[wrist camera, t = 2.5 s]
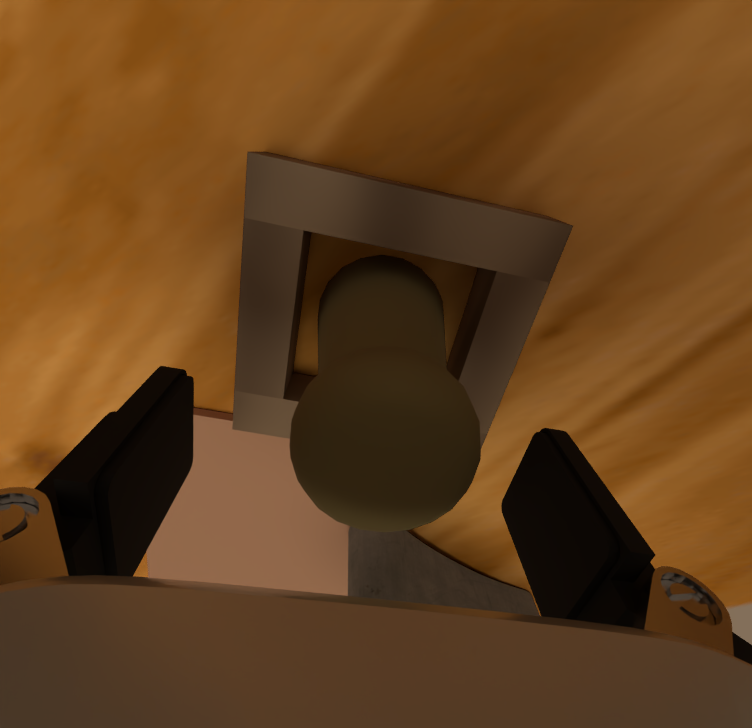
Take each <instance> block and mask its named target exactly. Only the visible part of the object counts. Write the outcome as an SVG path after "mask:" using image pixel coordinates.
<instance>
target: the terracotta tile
mask: <svg viewBox="0 0 752 728" xmlns="http://www.w3.org/2000/svg"><path fill="white" fill-rule="evenodd" d="M232 426H233V414H229V413H223V412H217V411H211V410H205V409H199V408H194V413H193V463H192V467H191V470H190V472H189V474H188V476H187V477H186V479H185V481H184V483H183V485H182V487H181V488H180V490H179V492H178V494H177V496H176V498H175V499H174V501H173V503H172V505H171V507H170V509H169V511H168V512H167V514H166V516H165V518H164V520H163V522H162V523H161V525H160V527H159V529H158V531H157V533H156V534H155V536H154V538H153V540H152V542H151V544H150V545H149V547H148V549H147V563H148V576H149V578H160V579H172V580H185V581H197V582H210V583H221V584H232V585H242V586H252V587H262V588H273V589H283V590H293V591H303V592H314V593H324V594H334V595H344V596H348V531H349V528H350V526H348V525H346V524H343V523H340V522H337V521H336V520H334V519H333V518H331V517H330V516H328V515H327V514H325V513H324V512H323V511H321V510H320V509H318V508H317V506H316V505H315V504H314V503H313V501H312V500H311V499H310V497H309V496H308V495H307V494H306V492H305V491H304V490H303V488H302V487H301V485H300V483H299V482H298V480H297V477H296V474H295V471H294V468H293V464H292V461H291V458H290V446H289V444H290V439H288V438H282V437H276V436H270V435H264V434H257V433H251V432H245V431H239V430H233V429H232Z"/></svg>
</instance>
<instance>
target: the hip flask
mask: <svg viewBox="0 0 752 728" xmlns="http://www.w3.org/2000/svg"><path fill="white" fill-rule="evenodd" d="M348 596H354V597H364V598H373V599H383V600H393V601H403V602H412V603H422V604H431V605H441V606H451V607H460V608H470V609H479V610H488V611H497V612H506V613H515V614H525V615H534V616H540V615H539V613H538V610H537V608H536V605H535V603H534V600H533V598H532V596H531V594H530V593H529V592H527V591H525V590H523V589H519V588H516V587H512V586H509V585H506V584H503V583H501V582H498V581H495V580H493V579H490V578H488V577H485V576H483V575H481V574H478V573H476V572H474V571H472V570H470V569H468V568H466V567H464V566H462V565H460V564H458V563H456V562H454V561H452V560H451V559H449V558H447V557H445V556H443V555H442V554H440V553H438V552H436V551H435V550H433V549H432V548H430V547H429V546H427V545H425V544H424V543H422V542H421V541H420V540H418V539H417V538H415V537H414V536H413V535H411V534H410V533H409V532H407V531H406V530H403V531H393V532H376V531H367V530H359V529H357V528H354V527H351V526H350V528H349V531H348Z"/></svg>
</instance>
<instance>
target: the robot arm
mask: <svg viewBox="0 0 752 728" xmlns="http://www.w3.org/2000/svg"><path fill="white" fill-rule="evenodd" d="M193 413H194V382H193V377H191V376H187V373H186V371H185V370H183V369H177V368H171V367H165V366H160V367H159V368H158V369H157V370H156V371H155V372H154V373H153V374H152V375H151V376H150V377H149V378H148V379H147V380H146V381H145V382H144V383H143V384H142V386H141V387H140V388H139V389H138V390H137V391H136V392H135V393H134V394H133V395H132V396H131V397H130V398H129V399H128V400H127V401H126V402H125V403H124V404H123V406H122V407H121V408H120V409H119V410H118V411H117V412H115V411H114V412H110V413H109V414H108V415H106V416H105V417H104V418H103V419H102V420H101V421H100V422H99V423H98V424H97V425H96V426H95V427H94V428H93V429H92V430H91V431H90V432H89V433H88V434H87V435H86V436H85V437H84V439H83V440H82V441H81V442H80V443H79V444H78V445H77V446H76V447H75V448H74V449H73V450H72V451H71V452H70V453H69V454H68V455H67V456H66V457H65V458H64V459H63V460H62V461H61V462H60V463H59V464H58V465H57V466H56V467H55V468H54V469H53V470H52V471H51V472H50V473H49V474H48V475H47V476H46V477H45V478H44V479H43V480H42V481H41V483H40V484H39V485H38V486H37V487H36V488H35V489H33V488H27V487H9V488H4V489H0V728H752V645H751V644H749V643H748V642H746V641H745V640H743V639H742V638H740V637H739V636H737V635H736V634H734V633H733V632H732V623H731V619H730V616H729V613H728V611H727V609H726V608H725V606H724V604H723V603H722V602H721V601H720V599H719V598H718V597H717V596H716V595H715V594H714V593H713V592H712V591H711V590H710V589H709V588H708V587H707V586H706V585H704V584H703V583H702V582H700V581H699V580H698V579H696V578H695V577H693V576H692V575H690V574H688V573H686V572H684V571H682V570H680V569H676V568H673V567H668V566H661V567H659V568H656V569H654V567H653V566H652V564H651V563H650V561H651V560H652V559H653V557H654V556H655V554H654V552H653V551H652V550H651V548H650V547H649V545H648V544H647V543H646V541H645V540H644V538H643V537H642V536H641V534H640V533H639V532H638V530H637V529H636V527H635V526H634V525H633V523H632V522H631V520H630V519H629V518H628V516H627V515H626V514H625V512H624V511H623V509H622V508H621V507H620V505H619V504H618V502H617V501H616V500H615V498H614V497H613V496H612V494H611V493H610V491H609V490H608V489H607V487H606V486H605V484H604V483H603V482H602V480H601V479H600V478H599V476H598V475H597V473H596V472H595V471H594V469H593V468H592V466H591V465H590V464H589V462H588V461H587V460H586V458H585V457H584V455H583V454H582V453H581V451H580V450H579V448H578V447H577V446H576V444H575V443H574V442H573V440H572V439H571V437H570V436H569V435H568V433H566V432H565V431H561V430H555V429H549V428H544V429H542V430H541V431H540V432H536V433H535V434H534V436H533V437H532V440H531V442H530V444H529V446H528V448H527V450H526V452H525V454H524V456H523V458H522V461H521V463H520V465H519V467H518V469H517V471H516V473H515V475H514V477H513V479H512V482H511V484H510V486H509V488H508V490H507V492H506V494H505V496H504V498H503V501H502V513H503V516H504V519H505V522H506V524H507V527H508V529H509V532H510V535H511V537H512V540H513V542H514V545H515V548H516V550H517V553H518V555H519V558H520V561H521V563H522V566H523V569H524V571H525V574H526V576H527V579H528V582H529V584H530V587H531V589H532V592H533V595H534V597H535V600H536V603H537V605H538V608H539V610H540V613H541V616H534V615H525V614H515V613H506V612H497V611H488V610H479V609H470V608H460V607H451V606H441V605H431V604H422V603H412V602H403V601H393V600H383V599H373V598H364V597H354V596H344V595H334V594H324V593H314V592H303V591H293V590H283V589H273V588H262V587H252V586H242V585H232V584H221V583H210V582H197V581H185V580H172V579H160V578H148V577H133V575H134V573H135V571H136V569H137V567H138V566H139V564H140V562H141V560H142V558H143V556H144V555H145V553H146V551H147V549H148V547H149V545H150V544H151V542H152V540H153V538H154V536H155V534H156V533H157V531H158V529H159V527H160V525H161V523H162V522H163V520H164V518H165V516H166V514H167V512H168V511H169V509H170V507H171V505H172V503H173V501H174V499H175V498H176V496H177V494H178V492H179V490H180V488H181V487H182V485H183V483H184V481H185V479H186V477H187V476H188V474H189V472H190V470H191V467H192V463H193Z"/></svg>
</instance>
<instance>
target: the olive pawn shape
mask: <svg viewBox="0 0 752 728" xmlns="http://www.w3.org/2000/svg"><path fill="white" fill-rule="evenodd" d="M289 446H290V458H291V461H292V464H293V468H294V471H295V474H296V477H297V480H298V482H299V483H300V485H301V487H302V488H303V490H304V491H305V492H306V494H307V495H308V496H309V497H310V499H311V500H312V501H313V503H314V504H315V505H316V506H317V508H318V509H320V510H321V511H323V512H324V513H325V514H327V515H328V516H330V517H331V518H333V519H334V520H336V521H337V522H340V523H343V524H346V525H348V526H351V527H354V528H357V529H359V530H367V531H376V532H393V531H403V530H410V529H413V528H416V527H419V526H422V525H425V524H428V523H431V522H433V521H434V520H436V519H438V518H439V517H441V516H442V515H444V514H445V513H447V512H448V511H450V510H451V509H452V508H453V507H454V506H455V505H456V504H457V502H458V501H459V500H460V499H461V498H462V496H463V495H464V494H465V493H466V492H467V490H468V488H469V486H470V485H471V483H472V481H473V478H474V475H475V473H476V470H477V467H478V465H479V462H480V452H481V443H480V421H479V419H478V417H477V414H476V412H475V409H474V407H473V405H472V403H471V401H470V399H469V396H468V394H467V392H466V390H465V388H464V386H463V385H462V384H461V383H460V382H459V381H458V380H457V379H456V378H455V377H454V376H453V375H452V374H451V373H450V372H448V371H447V366H446V348H445V331H444V315H443V301H442V298H441V296H440V294H439V292H438V289H437V287H436V285H435V283H434V282H433V281H432V279H431V278H430V277H429V276H428V275H427V274H426V273H425V272H424V271H423V270H422V269H421V268H420V267H418V266H416V265H414V264H412V263H410V262H408V261H406V260H405V259H403V258H397V257H391V256H385V255H379V256H372V257H365V258H360V259H358V260H356V261H354V262H352V263H350V264H348V265H346V266H344V267H342V268H341V269H340V270H339V272H338V273H337V274H336V275H335V276H334V277H333V278H332V279H331V280H330V281H329V282H328V283H327V286H326V288H325V290H324V292H323V294H322V296H321V298H320V303H319V312H318V375H317V376H316V377H315V378H314V379H313V380H312V381H311V382H310V383H309V384H308V385H307V387H306V389H305V391H304V393H303V395H302V397H301V399H300V401H299V403H298V405H297V407H296V409H295V412H294V415H293V418H292V421H291V432H290V444H289Z"/></svg>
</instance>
